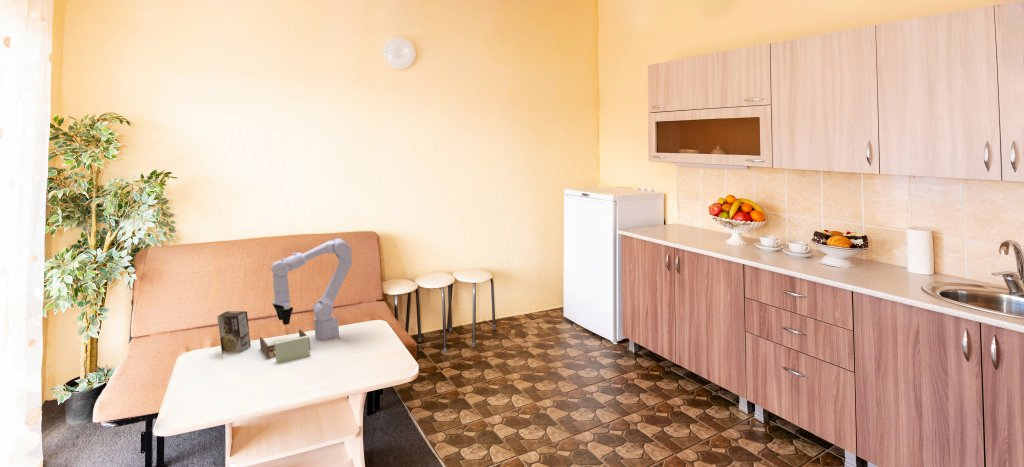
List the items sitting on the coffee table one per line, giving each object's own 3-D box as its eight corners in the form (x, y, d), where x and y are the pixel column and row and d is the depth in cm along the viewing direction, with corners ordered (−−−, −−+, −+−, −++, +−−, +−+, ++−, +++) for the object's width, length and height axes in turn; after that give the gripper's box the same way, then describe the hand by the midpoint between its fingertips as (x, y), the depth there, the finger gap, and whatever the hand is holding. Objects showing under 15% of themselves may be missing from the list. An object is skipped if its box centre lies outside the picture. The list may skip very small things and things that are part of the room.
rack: (301, 342, 225) (300, 329, 224) (310, 351, 214) (309, 337, 213) (261, 351, 215) (259, 337, 214) (267, 361, 205) (266, 346, 204)
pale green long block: (308, 354, 209) (307, 335, 208) (310, 356, 208) (308, 337, 206) (276, 362, 202) (274, 342, 201) (277, 364, 201) (275, 343, 200)
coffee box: (251, 348, 219) (247, 311, 216) (242, 354, 212) (238, 316, 210) (230, 348, 220) (226, 310, 217) (221, 354, 213) (216, 315, 211)
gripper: (267, 288, 221) (269, 319, 223) (275, 295, 209) (278, 328, 211) (284, 285, 225) (287, 316, 227) (293, 292, 213) (296, 325, 215)
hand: (284, 322), depth 219 cm, fingers open, 7 cm apart
